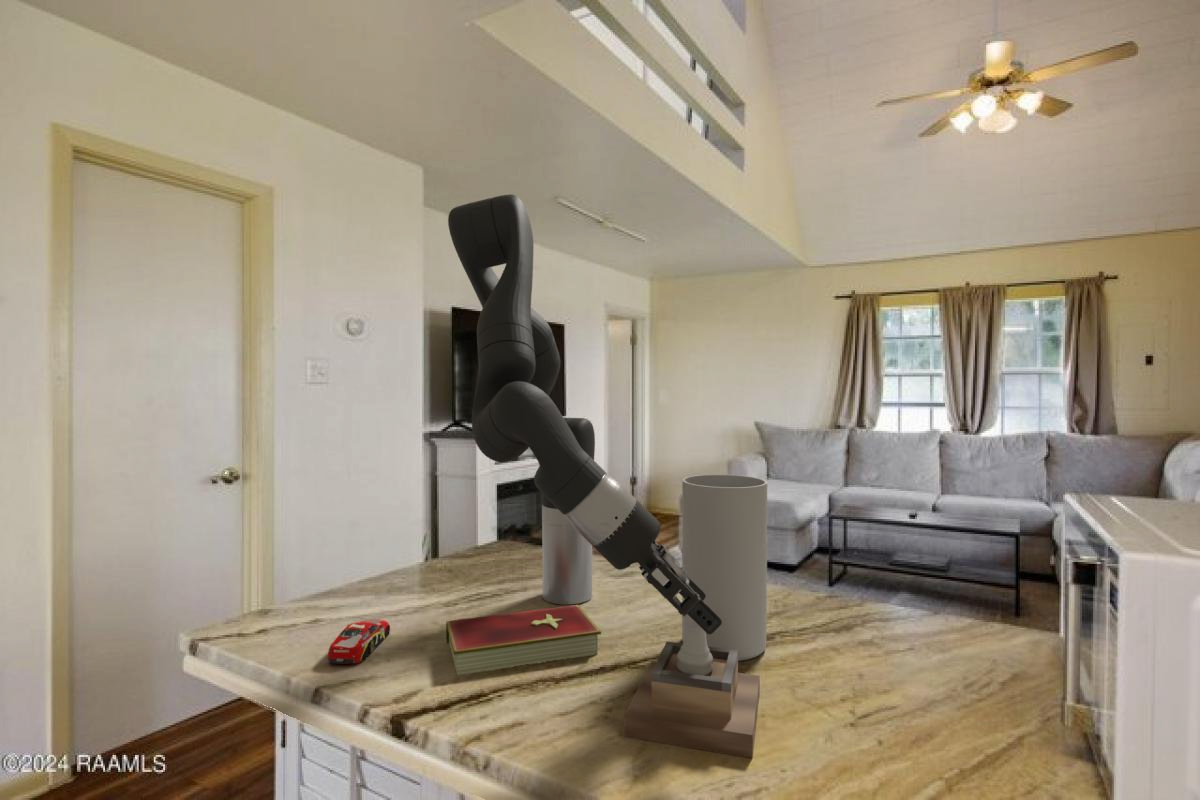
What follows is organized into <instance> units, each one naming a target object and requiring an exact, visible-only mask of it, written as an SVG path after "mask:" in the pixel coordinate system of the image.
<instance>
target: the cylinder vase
mask: <svg viewBox="0 0 1200 800" xmlns="http://www.w3.org/2000/svg"><path fill="white" fill-rule="evenodd" d="M681 481H682V484H681V485H682V486H681V487H682V488H681V489H682V491H681V492H682V500H681V501H682V502H681V503H682V504H681V505H682V512H681V514H682V517H681V518H682V520H681V521H682V523H681V525H682V528H681V529H682V530H681V533H682V534H681V537H682V541H681V542H682V545H681V549H682V550H681V552H682V553H681V556H682V558H681V560H682V561H681V567H682V568H683V569H684V572H685V575H687V576H688V577H689V578H690V579H691V580H692V581H693V582H694V583H695V584H696V585H697V586H698V587H699V588H700V589H701V590H702V591H703V592H704V593H705V595H706V597H705V599H704V600H703V602H704V603H706V604H707V605H708V606H709V607H710V608H711V609H712V610H713V611H714V612H715V613H716V614H717V615H718V616H719V617H720V619H721V621H722V624H721V625H720V626H719V627H718V628H717V629H716V630H715V631H714V632H713V633H712V634H707V633H706V641H707V646H708V647H716V648H724V649H732V650H738V662H741V661H747V660H751V659H754V658H756V657H758V656H760V655H761V654H762V653H763V652H764V651H765V650H766V647H767V611H768V609H767V608H768V607H767V606H768V605H767V603H768V602H767V597H768V596H767V595H768V594H767V593H768V592H767V591H768V590H767V587H768V584H767V583H768V581H767V580H768V579H767V577H768V481H767V480H765V479H763V478H759V477H754V476H750V475H749V476H748V475H738V474H700V475H699V474H697V475H691V476H686V477H684V478H683V479H682V480H681ZM681 600H682V601H681V603H682V602H683V601H684V600H685V599H684V598H683V597H682V596H681ZM685 619H686V618H685V616H683V615H681V639H682V643H683V642H684V635H685V625H684V621H685Z"/></svg>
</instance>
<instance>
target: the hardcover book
mask: <svg viewBox="0 0 1200 800" xmlns="http://www.w3.org/2000/svg"><path fill="white" fill-rule="evenodd" d="M598 635H602V630H601V629H599V627H598V626H597V625H596V624H595V623H594V621H593V620H592V619H591V618H590V617H589V616H588V614H586V612H585V611H584V610H583V609H582V608H581V606H580V605H579V604H575V605H574V604H571V605H564V606H556V607H550V608H541V609H534V610H526V611H525V610H524V611H517V612H510V613H508V612H507V613H499V614H493V615H492V614H491V615H484V616H476V617H467V618H461V619H450V620H446V621H445V639H446V644H449V647H450V653H451V657H452V660H453V661H452V662H453V664H454V670H455V673H456V676H463V675H469V673H471V674H476V673H475V672H477V673H482V672H481V671H484V672H488V671H487V670H490V671H494V670H493V669H497V670H500V669H499V668H504V669H508V668H507V667H510V668H513V667H512V666H517V667H519V666H518V665H524V666H526V665H525V664H530V665H534V664H533V663H537V664H539V663H538V662H544V661H550V662H554V661H553V660H557V661H562V660H561V659H563V660H568V659H567V658H570V659H576V658H575V657H577V658H583V657H589V656H595V655H598V648H599V647H598V642H599V641H598V639H599V638H598ZM582 656H583V657H582ZM544 663H545V662H544Z"/></svg>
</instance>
